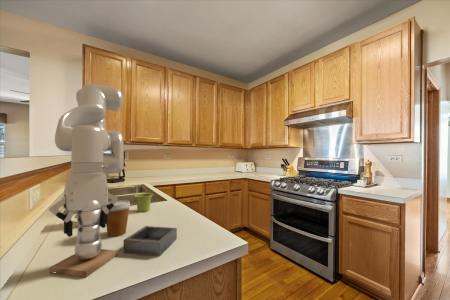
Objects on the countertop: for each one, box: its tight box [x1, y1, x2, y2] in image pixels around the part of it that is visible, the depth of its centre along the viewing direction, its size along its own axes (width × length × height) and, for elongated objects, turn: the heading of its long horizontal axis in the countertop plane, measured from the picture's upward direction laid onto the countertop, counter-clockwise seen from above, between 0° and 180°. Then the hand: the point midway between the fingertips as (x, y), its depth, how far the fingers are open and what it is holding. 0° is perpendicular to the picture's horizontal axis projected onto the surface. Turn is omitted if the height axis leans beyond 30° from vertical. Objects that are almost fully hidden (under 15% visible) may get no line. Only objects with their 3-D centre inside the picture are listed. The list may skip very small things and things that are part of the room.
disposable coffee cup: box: [105, 199, 131, 238], centre depth 77 cm, size 10×10×12 cm
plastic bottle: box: [74, 201, 103, 260], centre depth 57 cm, size 6×7×20 cm
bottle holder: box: [123, 225, 178, 257], centre depth 67 cm, size 12×12×4 cm
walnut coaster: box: [49, 248, 118, 278], centre depth 56 cm, size 11×11×2 cm
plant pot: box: [134, 192, 153, 213], centre depth 109 cm, size 9×9×9 cm
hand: (86, 230), depth 56 cm, fingers open, 7 cm apart
